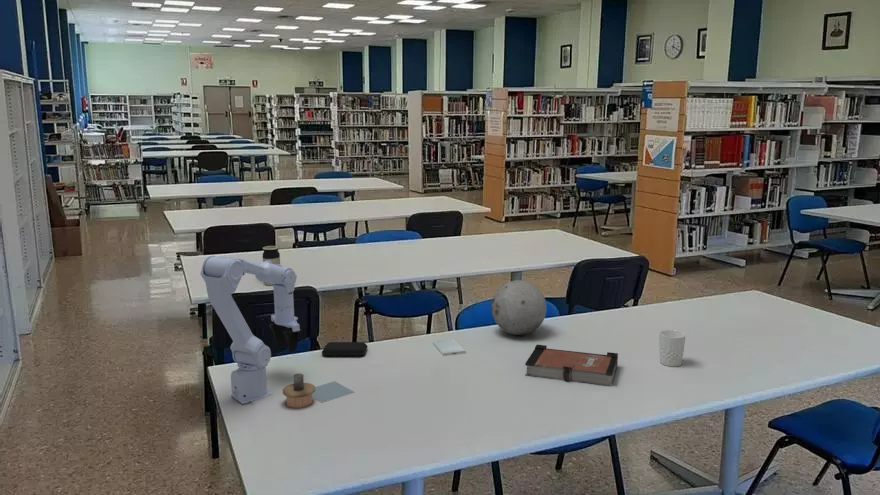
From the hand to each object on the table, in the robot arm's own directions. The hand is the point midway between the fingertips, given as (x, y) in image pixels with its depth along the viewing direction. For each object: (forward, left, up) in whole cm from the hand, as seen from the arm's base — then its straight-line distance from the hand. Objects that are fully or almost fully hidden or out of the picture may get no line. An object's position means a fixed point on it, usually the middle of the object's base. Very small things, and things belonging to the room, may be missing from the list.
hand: (286, 348), depth 208 cm
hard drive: (+54, -14, -10) cm, 57 cm away
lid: (-7, -20, -6) cm, 22 cm away
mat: (+3, -19, -9) cm, 21 cm away
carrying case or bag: (+26, +7, -10) cm, 28 cm away
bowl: (-7, -20, -10) cm, 23 cm away
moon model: (+84, -19, -10) cm, 87 cm away
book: (+69, -55, -10) cm, 89 cm away
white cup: (+99, -72, -10) cm, 123 cm away
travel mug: (+51, +111, -10) cm, 123 cm away
